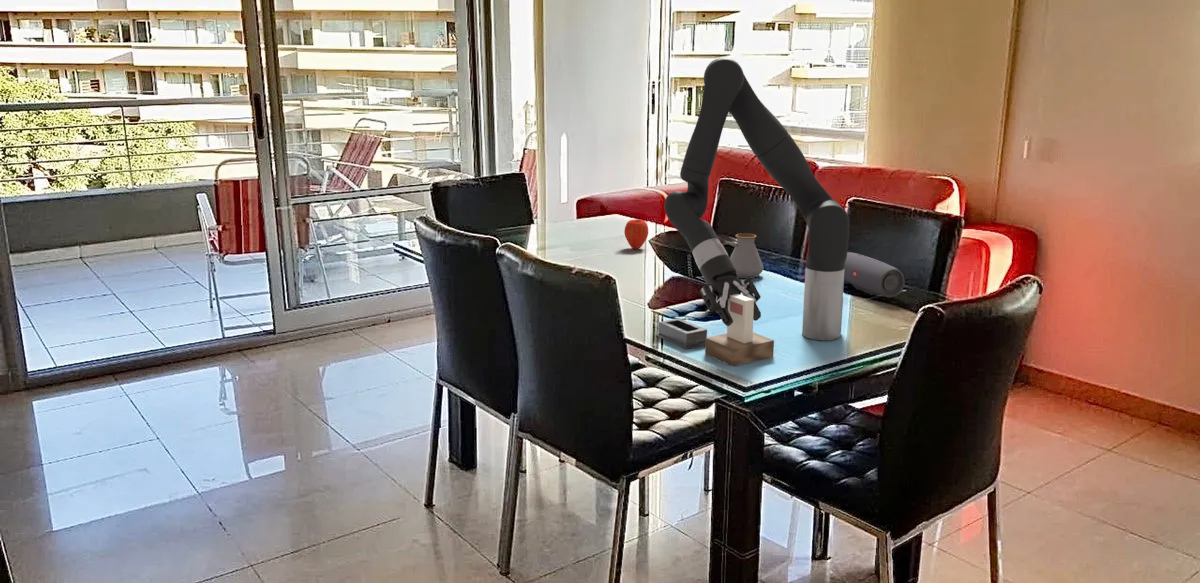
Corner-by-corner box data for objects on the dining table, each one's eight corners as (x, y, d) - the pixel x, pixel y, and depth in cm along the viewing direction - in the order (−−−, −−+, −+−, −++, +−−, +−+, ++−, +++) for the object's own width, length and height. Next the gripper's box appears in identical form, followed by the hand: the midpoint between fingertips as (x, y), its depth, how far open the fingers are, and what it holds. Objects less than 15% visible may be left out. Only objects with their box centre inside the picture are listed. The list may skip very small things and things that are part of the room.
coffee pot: (752, 270, 295) (754, 224, 291) (769, 278, 284) (771, 230, 280) (690, 275, 288) (691, 228, 284) (705, 284, 278) (707, 235, 274)
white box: (735, 334, 217) (736, 293, 214) (752, 341, 212) (754, 299, 209) (726, 336, 215) (728, 295, 213) (743, 343, 210) (745, 301, 208)
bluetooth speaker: (831, 284, 278) (833, 251, 275) (858, 281, 280) (861, 249, 278) (876, 303, 257) (878, 268, 254) (905, 300, 260) (907, 265, 257)
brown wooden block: (744, 345, 222) (745, 329, 221) (773, 356, 213) (774, 340, 212) (705, 354, 216) (705, 337, 215) (732, 366, 207) (733, 349, 206)
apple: (637, 252, 320) (637, 222, 318) (619, 249, 326) (618, 219, 323) (653, 248, 327) (653, 218, 324) (634, 245, 332) (635, 215, 329)
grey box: (679, 331, 233) (679, 317, 232) (709, 344, 223) (710, 329, 222) (655, 335, 229) (655, 321, 228) (685, 349, 219) (685, 334, 218)
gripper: (696, 257, 211) (727, 318, 205) (745, 249, 218) (776, 308, 212) (682, 275, 217) (711, 334, 210) (730, 267, 224) (760, 324, 218)
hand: (744, 321), depth 211 cm, fingers open, 7 cm apart
